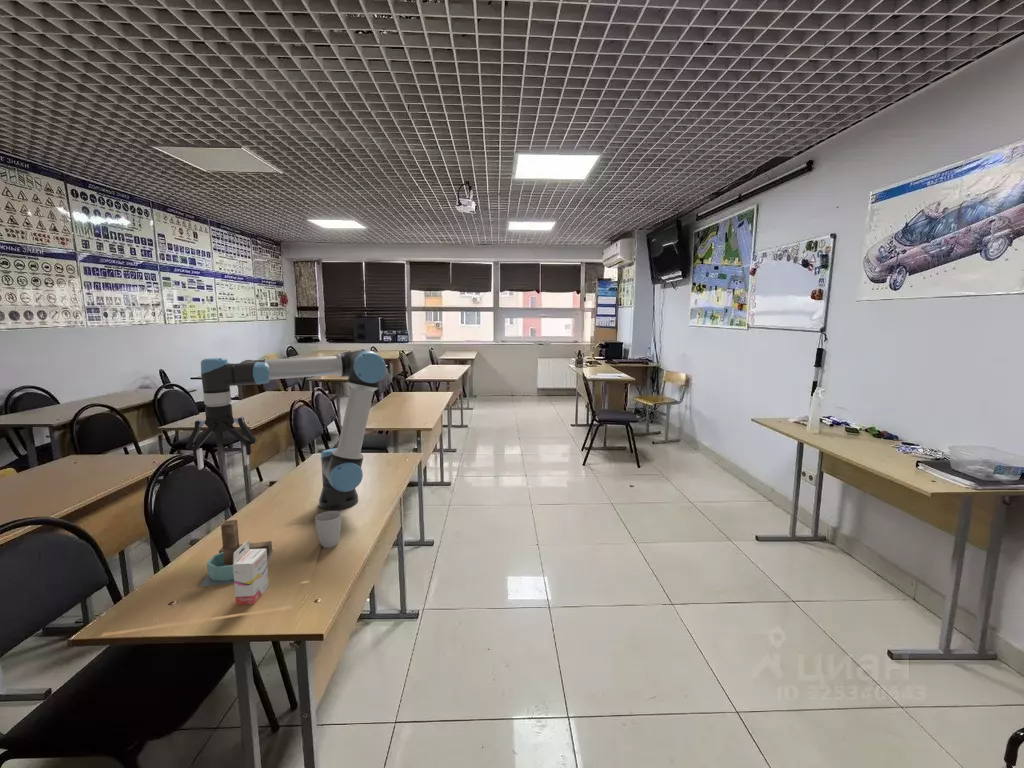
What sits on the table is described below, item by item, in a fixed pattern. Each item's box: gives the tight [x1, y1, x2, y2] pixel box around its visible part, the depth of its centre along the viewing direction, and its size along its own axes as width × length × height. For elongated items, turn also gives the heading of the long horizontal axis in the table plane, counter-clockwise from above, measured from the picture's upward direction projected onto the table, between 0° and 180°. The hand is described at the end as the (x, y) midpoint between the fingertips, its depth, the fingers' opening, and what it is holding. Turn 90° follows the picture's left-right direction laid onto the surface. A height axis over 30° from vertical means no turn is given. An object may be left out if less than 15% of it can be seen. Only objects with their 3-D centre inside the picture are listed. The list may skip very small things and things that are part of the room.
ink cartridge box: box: [233, 539, 269, 606], centre depth 120 cm, size 9×5×15 cm, turn 5°
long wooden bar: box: [218, 540, 273, 555], centre depth 141 cm, size 14×3×3 cm, turn 105°
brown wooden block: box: [220, 519, 240, 566], centre depth 132 cm, size 3×3×14 cm
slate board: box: [198, 549, 275, 588], centre depth 135 cm, size 15×18×1 cm
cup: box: [314, 510, 342, 549], centre depth 149 cm, size 8×8×10 cm
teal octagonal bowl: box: [206, 548, 250, 582], centre depth 132 cm, size 11×11×4 cm
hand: (224, 466), depth 151 cm, fingers open, 13 cm apart
